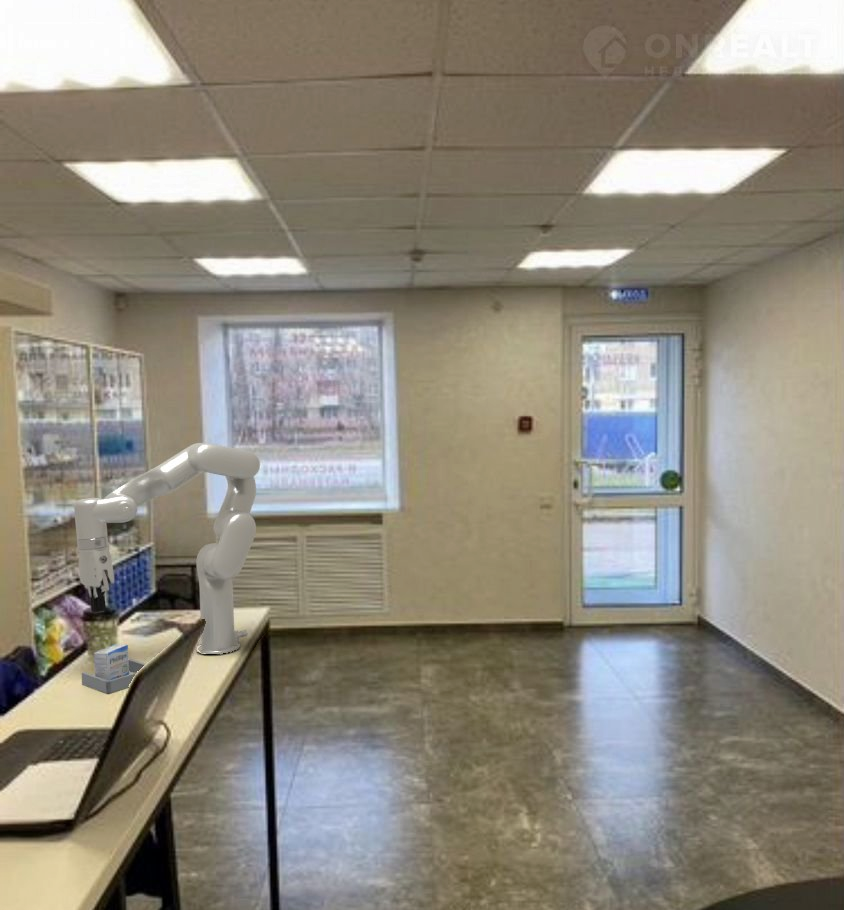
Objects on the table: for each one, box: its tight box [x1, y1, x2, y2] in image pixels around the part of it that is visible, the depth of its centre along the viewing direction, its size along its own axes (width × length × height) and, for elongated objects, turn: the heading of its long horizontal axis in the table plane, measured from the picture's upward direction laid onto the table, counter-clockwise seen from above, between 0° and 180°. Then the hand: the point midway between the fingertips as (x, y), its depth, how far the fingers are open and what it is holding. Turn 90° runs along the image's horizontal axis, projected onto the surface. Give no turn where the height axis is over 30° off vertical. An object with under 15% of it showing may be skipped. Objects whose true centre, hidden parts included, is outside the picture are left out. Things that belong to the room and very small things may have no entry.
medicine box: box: [93, 643, 130, 681], centre depth 189 cm, size 8×4×9 cm, turn 163°
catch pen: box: [81, 658, 146, 695], centre depth 188 cm, size 14×13×3 cm
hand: (98, 610), depth 195 cm, fingers closed
